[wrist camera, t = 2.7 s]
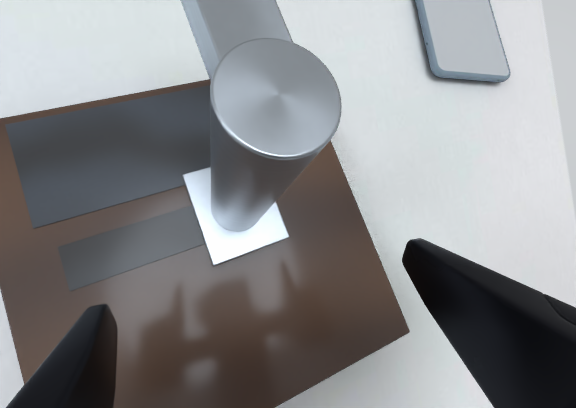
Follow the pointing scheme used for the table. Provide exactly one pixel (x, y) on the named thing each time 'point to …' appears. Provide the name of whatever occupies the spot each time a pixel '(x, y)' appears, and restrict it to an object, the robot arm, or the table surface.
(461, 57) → the smartphone
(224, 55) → the tap
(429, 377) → the table surface
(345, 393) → the table surface
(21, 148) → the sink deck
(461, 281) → the robot arm
